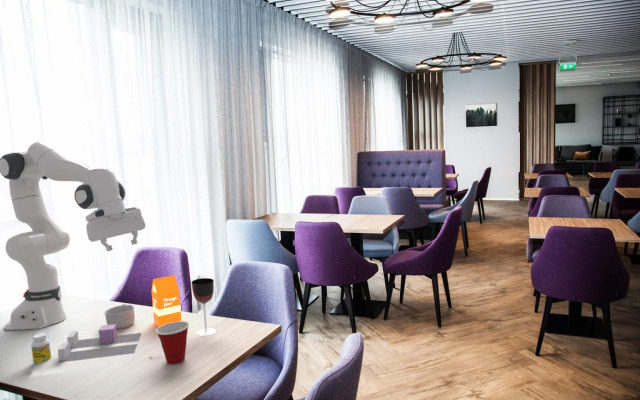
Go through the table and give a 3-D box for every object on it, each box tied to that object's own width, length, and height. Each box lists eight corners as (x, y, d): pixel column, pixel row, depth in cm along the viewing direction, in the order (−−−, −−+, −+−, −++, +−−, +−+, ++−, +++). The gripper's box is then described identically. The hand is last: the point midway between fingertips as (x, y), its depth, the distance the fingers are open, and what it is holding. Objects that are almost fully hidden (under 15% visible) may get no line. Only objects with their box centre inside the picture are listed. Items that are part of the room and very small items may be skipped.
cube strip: (67, 351, 175) (66, 338, 174) (73, 343, 182) (72, 330, 182) (138, 343, 180) (137, 330, 179) (141, 335, 188) (140, 322, 187)
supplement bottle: (53, 358, 171) (50, 331, 169) (48, 364, 165) (45, 337, 164) (36, 360, 169) (33, 333, 168) (31, 366, 164) (27, 339, 163)
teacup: (128, 332, 191) (127, 313, 190) (101, 333, 192) (99, 313, 191) (142, 320, 205) (140, 301, 204) (116, 320, 205) (115, 302, 204)
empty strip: (58, 365, 164) (56, 350, 163) (65, 355, 172) (63, 341, 171) (134, 355, 169) (133, 341, 169) (137, 346, 177) (136, 333, 176)
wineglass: (202, 337, 183) (198, 285, 181) (191, 331, 189) (187, 281, 187) (221, 331, 188) (217, 281, 186) (209, 326, 195) (206, 276, 192)
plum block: (99, 343, 178) (98, 330, 178) (102, 338, 183) (101, 325, 183) (114, 342, 179) (113, 328, 179) (117, 336, 184) (115, 324, 184)
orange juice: (182, 325, 196) (178, 276, 194) (159, 331, 192) (155, 281, 189) (175, 320, 203) (172, 273, 201) (154, 325, 198) (150, 277, 196)
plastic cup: (164, 354, 170) (161, 320, 169) (195, 353, 170) (193, 319, 168) (153, 368, 159) (150, 332, 158) (186, 367, 159) (183, 331, 157)
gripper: (135, 207, 188) (145, 241, 188) (80, 218, 173) (91, 256, 173) (142, 203, 184) (152, 239, 183) (87, 214, 169) (98, 253, 169)
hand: (122, 247), depth 178 cm, fingers open, 8 cm apart
